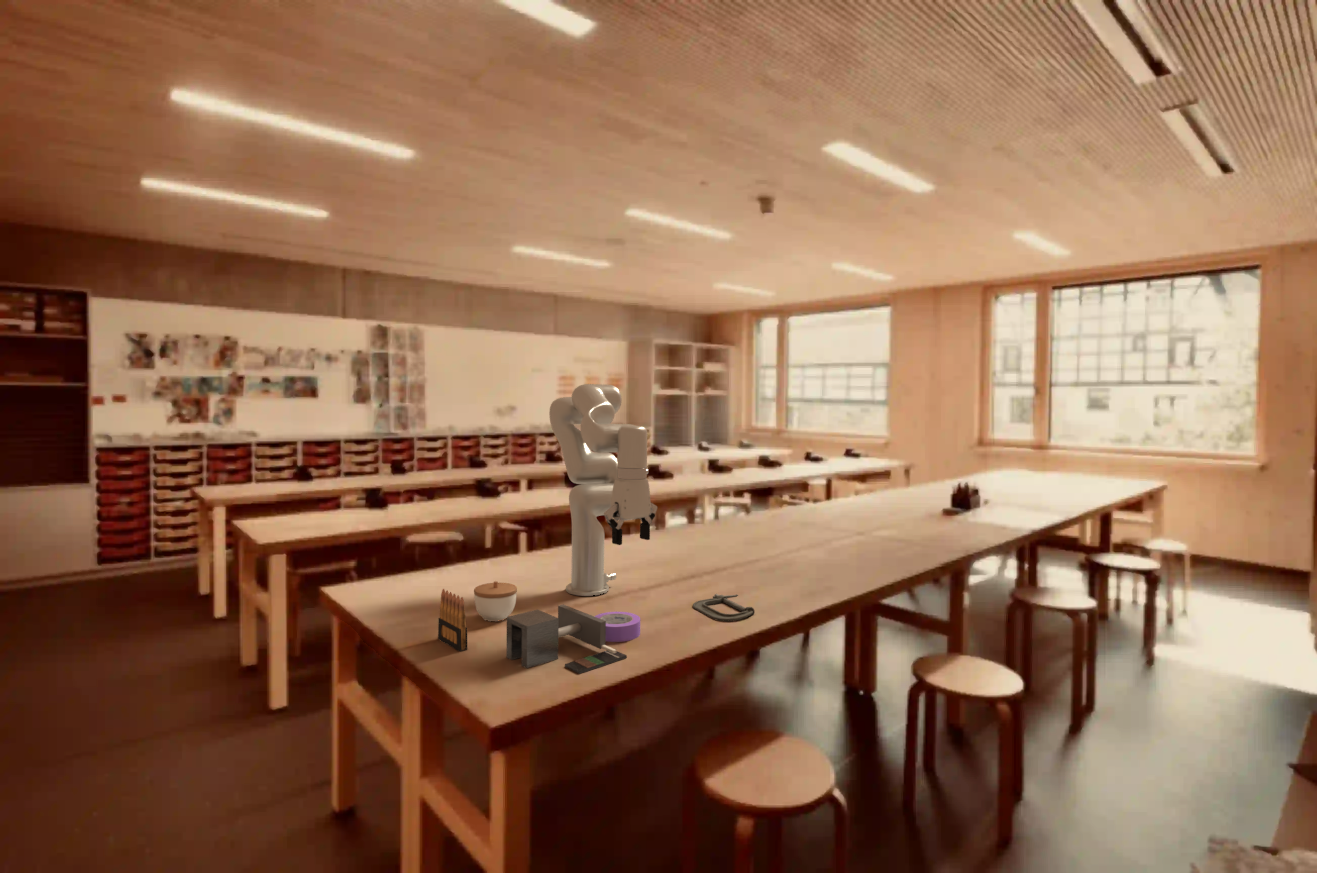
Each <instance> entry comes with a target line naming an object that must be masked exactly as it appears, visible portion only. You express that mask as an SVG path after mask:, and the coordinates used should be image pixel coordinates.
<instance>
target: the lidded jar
mask: <svg viewBox="0 0 1317 873" xmlns="http://www.w3.org/2000/svg"><path fill="white" fill-rule="evenodd" d="M517 591H518V587H517V586H516V585H515V584H512V583H509V582H498V581H496V580H495V581H493V582H488V583H483V584H479V585H477V586H475V588H474V589H473V593H474V595H473V597H474V606H475V609H476V611H477V613H478V615H479V616H480V617H482V619H483V620H484V621H486V620H488V621H487V622H491V621H495V622H499V621H498V620H502V621H504V620H503V619H505V618H507V617H509V616H511V614H512V613H513V611H514V609H515V606H516V603H517ZM505 620H506V619H505Z"/></svg>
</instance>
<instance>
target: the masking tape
mask: <svg viewBox="0 0 1317 873" xmlns="http://www.w3.org/2000/svg"><path fill="white" fill-rule="evenodd" d="M594 617H597V618H599V619H602V620H604V621H606V642H610V643H611V642H612V643H622V642H628V641H632V640H635V639H637V638H639V637H640V635H641V617H640V616H639V615H637V614H636V613H632V612H628V611H607V612H603V613H598V614H597V615H595V616H594Z"/></svg>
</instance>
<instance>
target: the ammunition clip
mask: <svg viewBox="0 0 1317 873" xmlns="http://www.w3.org/2000/svg"><path fill="white" fill-rule="evenodd" d="M464 600H465V599H464V597H463V596H461V598H460V596H459V595H456V593H452V592H451V591H450V592H449V591H448V590H445V588H442V589H441V594H440V604H439V617H438V621H437V623H438V624H437V625H438V626H437V630H438V632H437V639H438V640H439V641H440V640H441V641H440V642H442V643H444V644H445V645H448V646H449V647H451V648H452V649H454V650H456V651H457V652H461V653H462V652H464V651H468V627H467V625H466V622H467V616H466V607H465V601H464Z"/></svg>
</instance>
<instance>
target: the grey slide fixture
mask: <svg viewBox="0 0 1317 873" xmlns="http://www.w3.org/2000/svg"><path fill="white" fill-rule="evenodd" d="M558 625H559V618H558V616H557V617H556V616H555V615H552V614H550V613H547V612H544V611H542V610H540V609H535V610H534V609H533V610H530V611H526V612H521V613H518V614H514V615H509V616H508V617H507V619H506V654H505V655H506V658H507V659H508V660H511V661H513V660H516V659H520V658H521V667H523V668H524V669H530V668H533V667H536V666H537V667H538V666H539V665H543V664H546V663H550V662H552V661H555V660H558V659H559V638H558ZM627 657H628V656H627V654H624V653H622V652H620V651H618V650H616V653H611V652H609V651H607V650H605V651H602V652H601V651H600V652H598V653H595V654H592V655H588V656H585V657H582V658H578V659H575V660H573V661H569V662H567V663H565V664H564V667H565V668H567V669H569V670H571V671H573V672H575V673H576V674H578V675H580V674H583V673H586V672H589V671H592V670H595V669H598V668H600V667H601V668H602V667H604V666H607V665H610V664H613V663H616V662H619V661H622V660H625V659H627Z"/></svg>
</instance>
